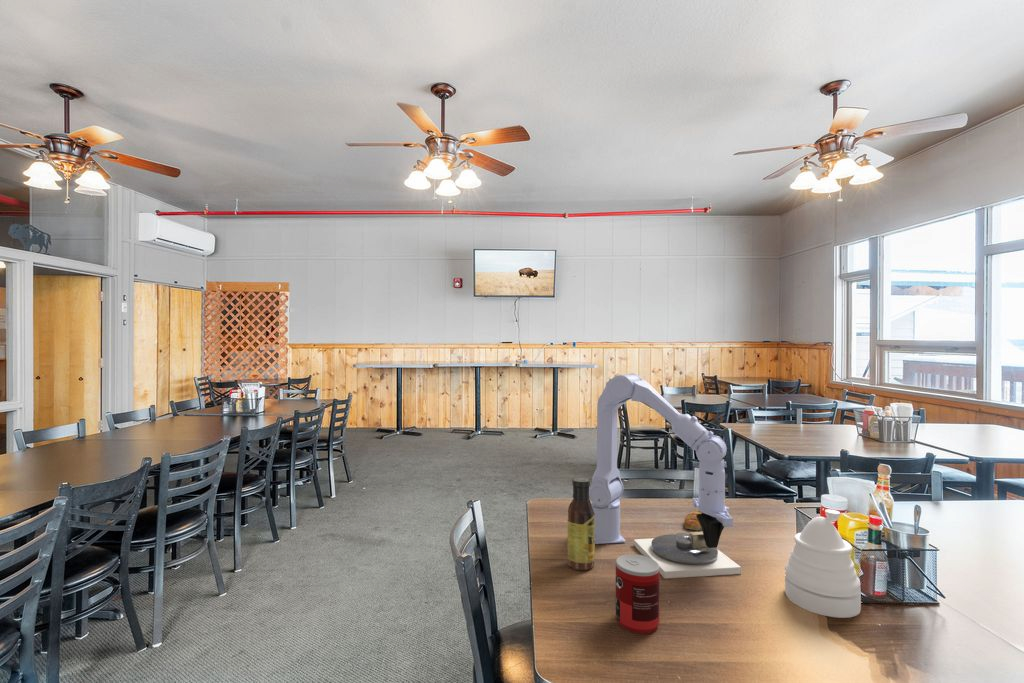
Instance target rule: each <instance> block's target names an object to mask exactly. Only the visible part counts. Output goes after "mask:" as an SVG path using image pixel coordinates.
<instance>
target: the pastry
mask: <svg viewBox="0 0 1024 683" xmlns="http://www.w3.org/2000/svg"><path fill="white" fill-rule="evenodd" d="M697 514H702V512H700V511H699V510H698V509H697V510H695V509H694V510H693V511H691V512H689V513H687V515H686V516H685V517H684V528H685V529H687V530H688V529H689V530H693V531H695V532H699V531H702V530H701V529H702V528H701V525H700V523H699V521H698V519H697V517H696V515H697ZM698 530H699V531H698Z"/></svg>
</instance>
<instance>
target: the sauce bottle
mask: <svg viewBox="0 0 1024 683" xmlns="http://www.w3.org/2000/svg"><path fill="white" fill-rule="evenodd" d="M571 482H572V490H573V492H572V500H571V502H570V503H569V504H568V505H569V506H568V507H567V508H568V510H567V517H568V518H567V564H568V566H569V567H570V568H572V569H573V570H576V571H577V570H578V571H588V570H591V569H593V568H594V566H595V559H596V558H595V557H596V556H595V555H596V554H595V552H596V550H595V549H596V546H595V545H596V544H595V514H594V511H593V508H592V505H591V504H592V502H591V500H590V498H589V488H590V486H591V481H590V479H589V478H587V477H574V478H573V479H572V481H571Z"/></svg>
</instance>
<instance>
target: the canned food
mask: <svg viewBox="0 0 1024 683" xmlns="http://www.w3.org/2000/svg"><path fill="white" fill-rule="evenodd" d="M660 575H661V574H660V573H659V564H658V563H657V562H656V561H655V560H653V559H651V558H649V557H646V556H643V555H642V554H633V553H630V554H623V555H620V556H618V557H617V558H616V559H615V619H616V621H617V623H618V625H619V626H621V627H622V628H623V629H624V630H627V631H628V632H631V633H634V634H643V635H645V634H646V635H647V634H650V633H653V632H656V631H657V629H658V628H659V624H660V587H661V586H660V585H661V584H660V583H661V582H660V579H661V578H660V577H661V576H660Z"/></svg>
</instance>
